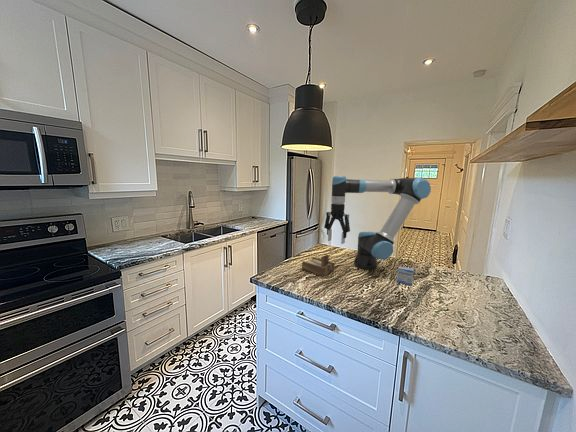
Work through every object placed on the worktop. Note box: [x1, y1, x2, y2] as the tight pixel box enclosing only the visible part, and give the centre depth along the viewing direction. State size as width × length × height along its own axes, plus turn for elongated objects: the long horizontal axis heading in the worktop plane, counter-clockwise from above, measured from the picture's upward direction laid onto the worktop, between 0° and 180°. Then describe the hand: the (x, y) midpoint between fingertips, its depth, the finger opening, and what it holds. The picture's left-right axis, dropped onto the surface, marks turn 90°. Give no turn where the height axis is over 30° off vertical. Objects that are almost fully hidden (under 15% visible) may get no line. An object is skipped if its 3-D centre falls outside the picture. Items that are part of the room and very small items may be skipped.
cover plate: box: [307, 254, 330, 267], centre depth 153 cm, size 9×13×7 cm
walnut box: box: [301, 256, 335, 278], centre depth 154 cm, size 12×16×6 cm
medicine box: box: [396, 265, 415, 286], centre depth 139 cm, size 8×4×9 cm, turn 62°
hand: (336, 241), depth 143 cm, fingers open, 8 cm apart
